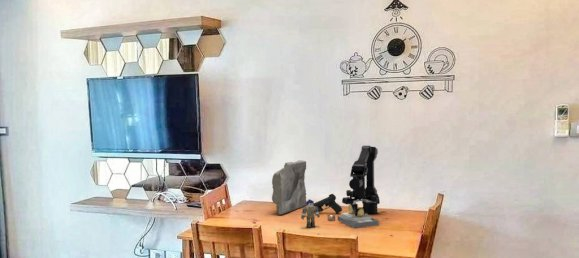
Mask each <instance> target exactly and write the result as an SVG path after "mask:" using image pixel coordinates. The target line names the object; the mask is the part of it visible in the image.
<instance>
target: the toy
mask: <svg viewBox="0 0 579 258" xmlns="http://www.w3.org/2000/svg"><path fill="white" fill-rule="evenodd" d="M306 202H307V205H306V206H303V207H302V211H301V217H300V219H302V220H304V219H305V218H306V228H307V229H315V228H316V227H317V226H316V224H315V223H316V222H315V219H316V217H317V218H318V219H319V218H320V217H321V215H320V212H318V207H316V206H313V205H314V203H315V201H314V200H312V199H308V200H306ZM314 211H315V212H314Z"/></svg>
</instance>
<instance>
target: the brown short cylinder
mask: <svg viewBox="0 0 579 258" xmlns="http://www.w3.org/2000/svg"><path fill="white" fill-rule="evenodd" d="M327 221H328V222H335V221H336V214H334V213H331V214H327Z"/></svg>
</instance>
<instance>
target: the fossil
mask: <svg viewBox="0 0 579 258" xmlns="http://www.w3.org/2000/svg"><path fill="white" fill-rule="evenodd" d="M306 170H307V161H306V160H300V159H299V160H297V161H289V162H285V163H284V166H283V167H282V168H281V169H280V170H278V171H276V172H274V174H273V175H272V181H271V185H272V191H273V192H272V194H271V195H272V197H271V200H272V203H274V204H275V205H276V206H275V209H276V214H277V215H284V214H286V213H289V212H293V211H294V210H298V209H300V208H304V207H307V192H306V191H307V190H306V185H305V182H306V181H305V179H306V178H305V177H306V175H305V174H306V173H305V172H306Z"/></svg>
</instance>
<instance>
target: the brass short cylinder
mask: <svg viewBox="0 0 579 258" xmlns="http://www.w3.org/2000/svg"><path fill="white" fill-rule="evenodd" d="M348 212H349V214H355V213H354V211H353V208H352V206H351V205H350V204H348Z"/></svg>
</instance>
